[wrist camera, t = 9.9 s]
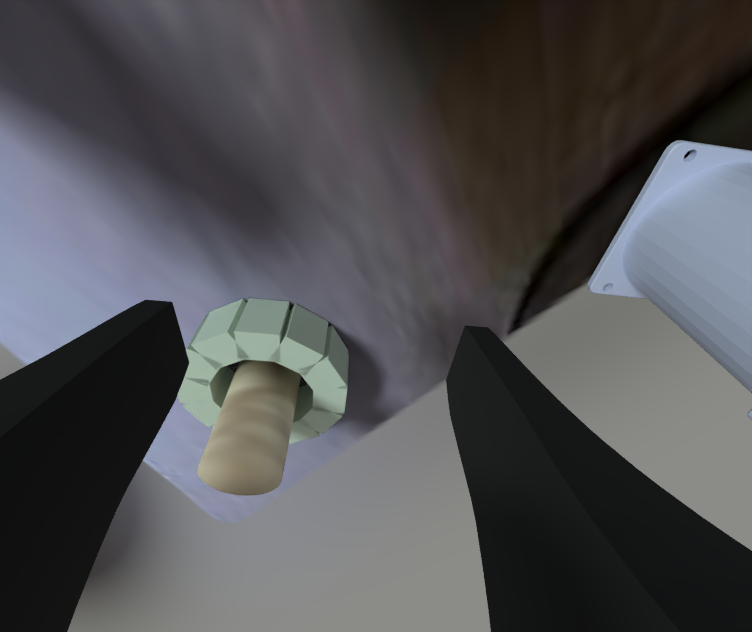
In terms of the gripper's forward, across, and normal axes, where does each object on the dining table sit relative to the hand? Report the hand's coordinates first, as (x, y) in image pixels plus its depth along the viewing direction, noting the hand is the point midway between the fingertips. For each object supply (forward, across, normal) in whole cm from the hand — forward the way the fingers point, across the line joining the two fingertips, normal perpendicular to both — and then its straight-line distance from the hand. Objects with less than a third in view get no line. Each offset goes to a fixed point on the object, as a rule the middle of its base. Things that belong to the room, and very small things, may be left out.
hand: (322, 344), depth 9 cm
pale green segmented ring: (+10, +4, +11) cm, 16 cm away
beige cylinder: (+10, +4, +11) cm, 16 cm away
